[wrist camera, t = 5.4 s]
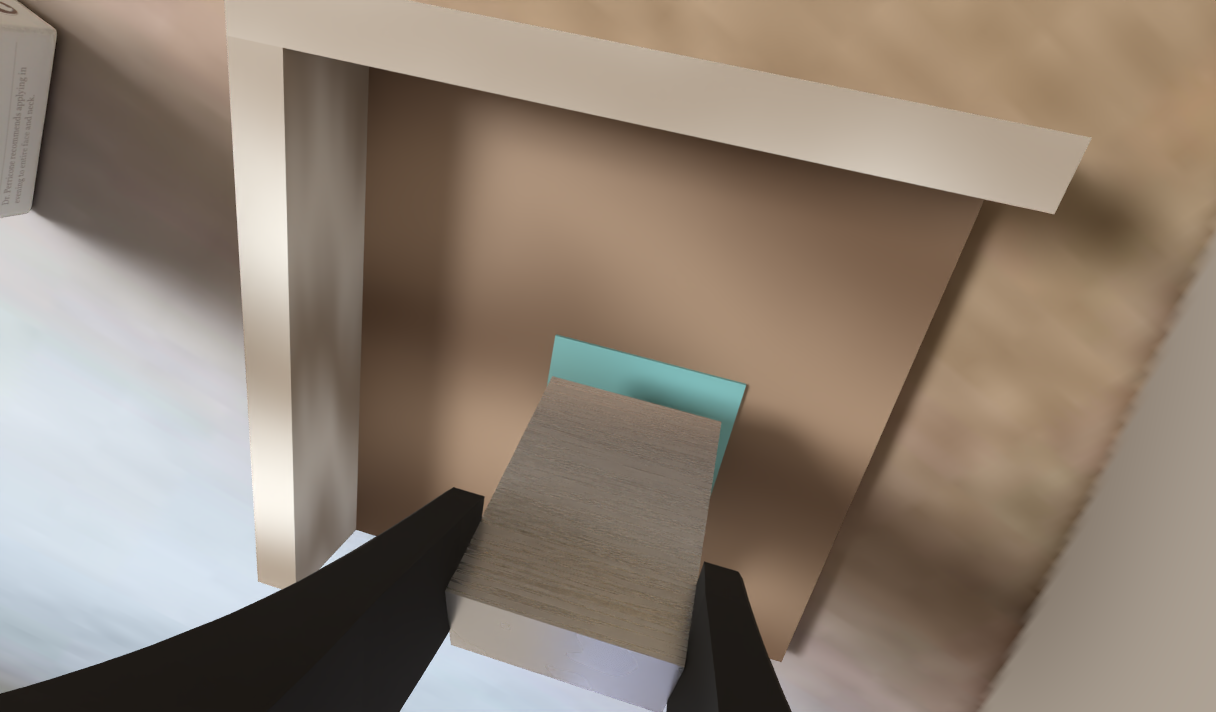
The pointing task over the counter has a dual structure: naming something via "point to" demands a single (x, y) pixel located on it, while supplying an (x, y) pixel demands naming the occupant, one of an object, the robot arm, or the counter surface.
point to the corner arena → (581, 266)
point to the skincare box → (22, 101)
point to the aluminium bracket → (592, 546)
